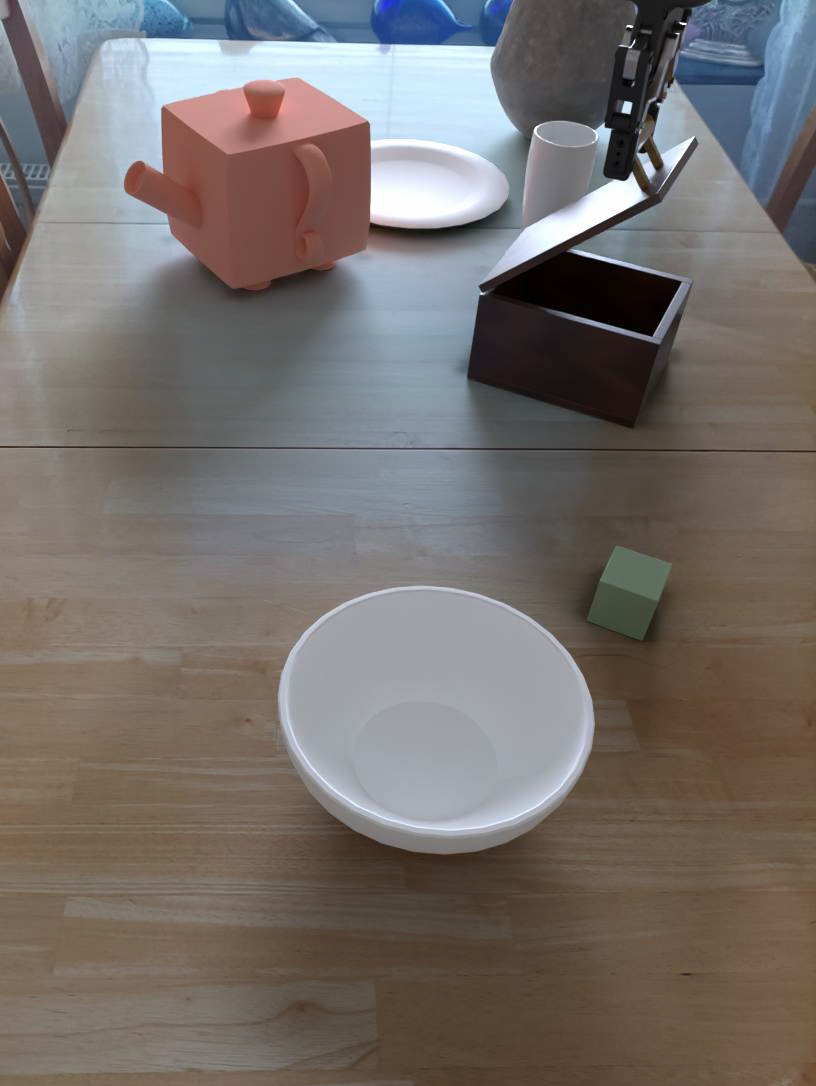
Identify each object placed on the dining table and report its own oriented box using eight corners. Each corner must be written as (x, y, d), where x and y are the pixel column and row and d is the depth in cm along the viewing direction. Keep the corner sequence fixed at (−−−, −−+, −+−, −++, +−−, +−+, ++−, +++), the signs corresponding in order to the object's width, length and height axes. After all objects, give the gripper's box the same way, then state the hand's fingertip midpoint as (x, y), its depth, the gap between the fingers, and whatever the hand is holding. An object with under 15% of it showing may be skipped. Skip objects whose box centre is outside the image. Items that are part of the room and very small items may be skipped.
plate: (268, 184, 122) (268, 171, 121) (409, 135, 133) (411, 122, 132) (407, 262, 110) (408, 247, 109) (549, 200, 121) (552, 187, 120)
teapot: (189, 342, 98) (171, 160, 84) (95, 248, 110) (67, 76, 97) (390, 279, 107) (403, 106, 94) (283, 199, 120) (281, 36, 106)
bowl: (341, 621, 73) (345, 553, 68) (596, 700, 69) (622, 634, 64) (229, 832, 61) (223, 769, 56) (530, 943, 57) (555, 887, 52)
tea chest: (667, 362, 98) (694, 279, 92) (633, 429, 91) (660, 344, 84) (511, 318, 103) (526, 236, 96) (466, 378, 95) (479, 294, 89)
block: (657, 604, 76) (673, 563, 72) (642, 641, 73) (658, 601, 70) (602, 585, 77) (616, 544, 74) (585, 621, 74) (599, 580, 71)
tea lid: (699, 144, 84) (673, 85, 82) (661, 202, 76) (632, 139, 74) (528, 235, 96) (502, 186, 94) (482, 293, 88) (452, 241, 86)
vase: (555, 177, 126) (601, -53, 107) (454, 127, 136) (479, -92, 117) (651, 141, 135) (709, -78, 116) (550, 97, 144) (588, -112, 125)
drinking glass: (503, 282, 108) (527, 141, 96) (514, 254, 112) (538, 116, 101) (563, 293, 107) (595, 151, 95) (572, 264, 111) (604, 125, 100)
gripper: (711, -51, 63) (648, 207, 76) (754, -97, 72) (690, 141, 85) (600, -65, 66) (556, 188, 78) (654, -109, 74) (606, 126, 87)
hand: (626, 163), depth 81 cm, fingers closed on tea lid, 5 cm apart
